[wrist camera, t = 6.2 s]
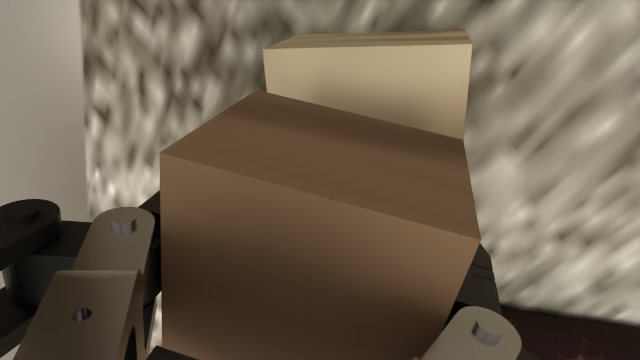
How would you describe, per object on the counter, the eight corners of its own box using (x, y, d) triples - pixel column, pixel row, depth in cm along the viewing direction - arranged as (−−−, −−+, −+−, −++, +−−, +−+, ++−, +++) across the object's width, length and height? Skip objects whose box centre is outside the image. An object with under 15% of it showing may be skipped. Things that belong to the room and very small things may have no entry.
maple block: (297, 34, 21) (262, 49, 17) (464, 28, 19) (472, 43, 15) (308, 177, 25) (281, 220, 20) (450, 184, 23) (454, 234, 18)
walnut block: (257, 90, 12) (159, 152, 8) (463, 139, 11) (480, 240, 7) (240, 251, 15) (162, 363, 11) (405, 300, 14) (393, 444, 10)
